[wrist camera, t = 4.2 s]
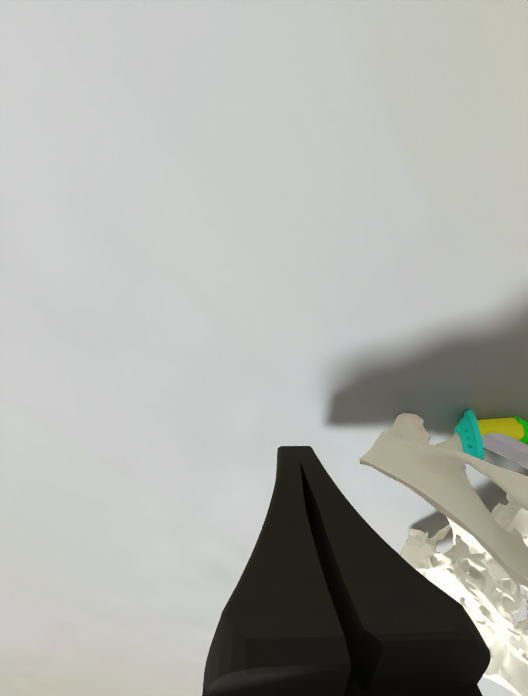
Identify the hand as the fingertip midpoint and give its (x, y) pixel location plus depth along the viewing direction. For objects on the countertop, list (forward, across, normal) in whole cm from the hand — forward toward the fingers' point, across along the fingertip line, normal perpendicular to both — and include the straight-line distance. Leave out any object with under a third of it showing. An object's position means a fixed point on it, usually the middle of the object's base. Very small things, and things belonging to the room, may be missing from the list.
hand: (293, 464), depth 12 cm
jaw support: (+3, -10, +4) cm, 11 cm away
